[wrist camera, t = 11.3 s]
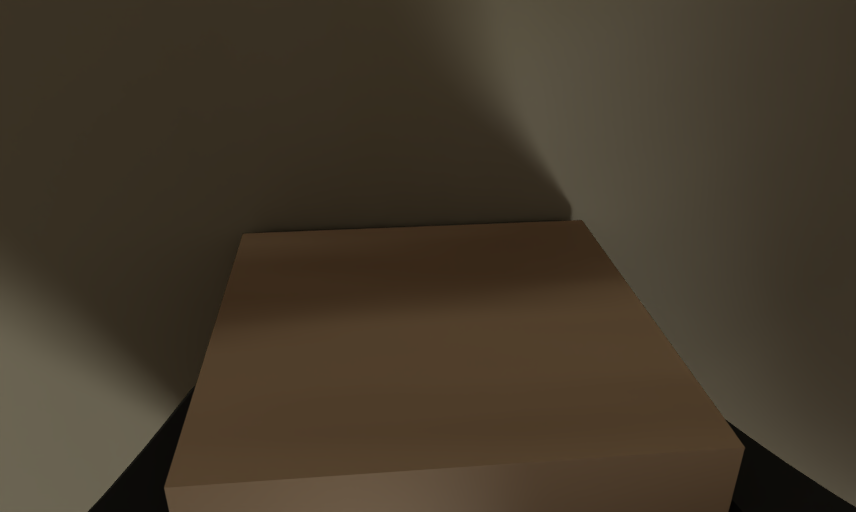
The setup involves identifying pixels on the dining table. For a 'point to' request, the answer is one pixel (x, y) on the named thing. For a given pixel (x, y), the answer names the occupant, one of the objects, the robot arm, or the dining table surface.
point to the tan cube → (444, 381)
